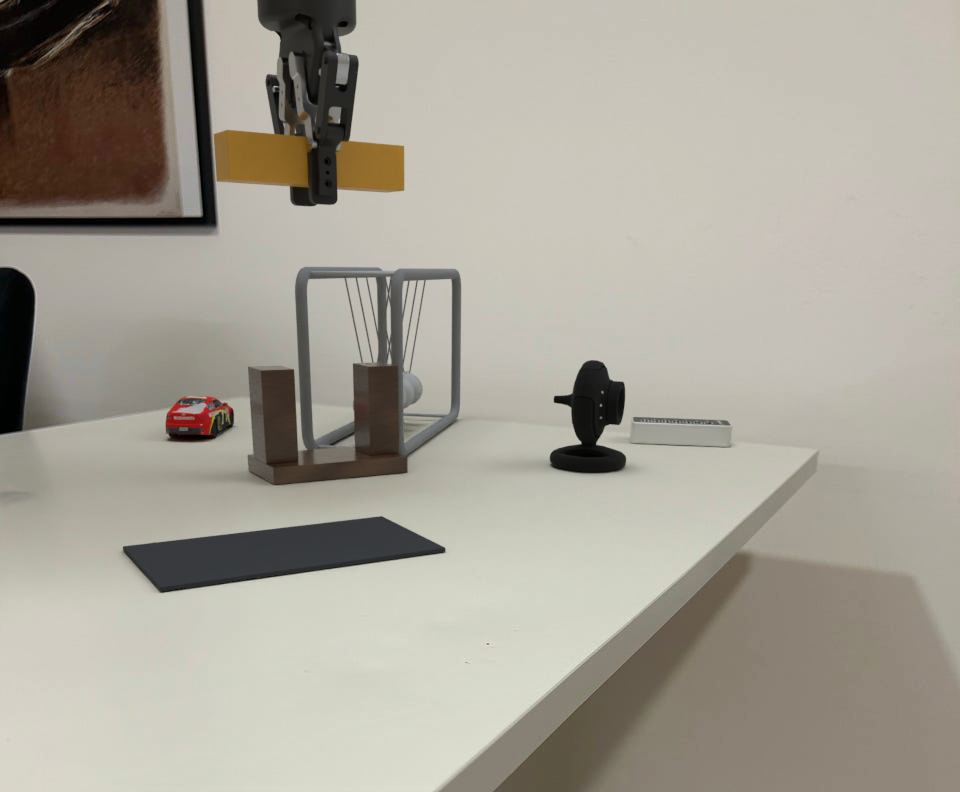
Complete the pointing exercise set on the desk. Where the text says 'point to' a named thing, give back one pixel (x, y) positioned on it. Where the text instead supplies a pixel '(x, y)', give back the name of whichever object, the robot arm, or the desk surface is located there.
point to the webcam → (592, 420)
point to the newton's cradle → (380, 346)
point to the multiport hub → (680, 431)
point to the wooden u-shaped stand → (366, 458)
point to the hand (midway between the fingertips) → (313, 203)
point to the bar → (305, 162)
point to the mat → (276, 552)
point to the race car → (198, 416)
